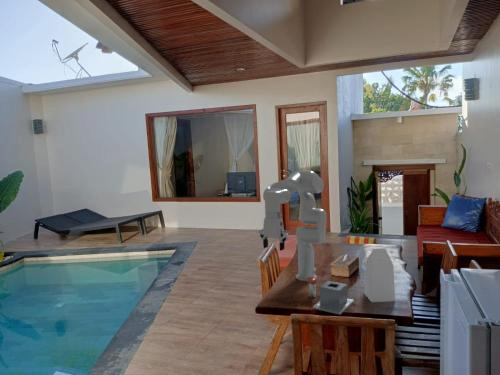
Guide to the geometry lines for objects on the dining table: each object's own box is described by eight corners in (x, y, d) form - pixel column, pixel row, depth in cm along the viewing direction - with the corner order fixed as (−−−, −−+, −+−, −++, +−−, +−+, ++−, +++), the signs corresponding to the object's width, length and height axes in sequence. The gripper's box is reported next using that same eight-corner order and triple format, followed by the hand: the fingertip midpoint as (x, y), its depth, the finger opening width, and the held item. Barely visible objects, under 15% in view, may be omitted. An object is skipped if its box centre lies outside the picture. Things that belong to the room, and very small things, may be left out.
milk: (386, 292, 209) (386, 244, 206) (395, 301, 197) (395, 250, 194) (364, 293, 208) (363, 245, 206) (371, 302, 197) (371, 251, 194)
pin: (310, 293, 211) (310, 276, 210) (319, 295, 208) (319, 278, 207) (305, 297, 206) (305, 279, 205) (315, 299, 203) (314, 281, 202)
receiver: (328, 296, 206) (327, 277, 205) (353, 301, 198) (353, 282, 197) (312, 308, 192) (312, 288, 191) (340, 314, 184) (339, 294, 183)
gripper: (291, 215, 194) (292, 249, 196) (262, 212, 204) (263, 245, 206) (283, 217, 188) (284, 252, 190) (254, 215, 198) (255, 248, 200)
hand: (273, 248), depth 198 cm, fingers open, 9 cm apart
